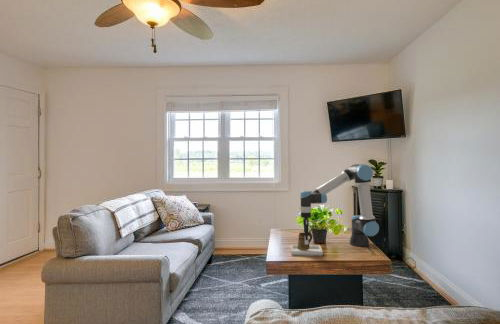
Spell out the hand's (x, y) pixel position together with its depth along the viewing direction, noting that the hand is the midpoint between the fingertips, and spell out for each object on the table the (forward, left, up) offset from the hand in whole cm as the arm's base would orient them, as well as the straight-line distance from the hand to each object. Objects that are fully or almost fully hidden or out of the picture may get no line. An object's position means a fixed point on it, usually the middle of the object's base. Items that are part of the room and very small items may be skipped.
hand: (306, 242), depth 230 cm
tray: (0, 0, -7) cm, 7 cm away
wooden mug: (0, +1, -4) cm, 4 cm away
